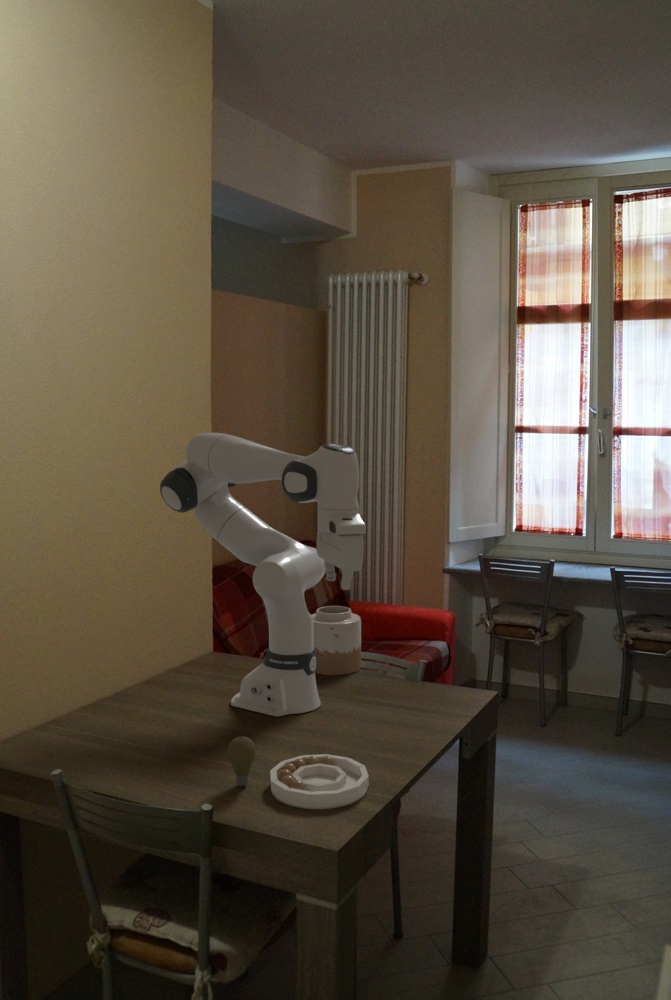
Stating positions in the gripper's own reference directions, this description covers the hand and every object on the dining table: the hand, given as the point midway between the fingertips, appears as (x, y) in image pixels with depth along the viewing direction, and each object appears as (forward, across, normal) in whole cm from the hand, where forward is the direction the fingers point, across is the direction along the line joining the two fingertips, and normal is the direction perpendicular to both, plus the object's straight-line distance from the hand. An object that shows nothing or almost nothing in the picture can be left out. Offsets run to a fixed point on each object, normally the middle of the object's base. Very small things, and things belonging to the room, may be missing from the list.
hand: (338, 584), depth 201 cm
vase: (+36, -57, +19) cm, 71 cm away
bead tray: (+36, +18, -10) cm, 42 cm away
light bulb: (+37, +12, -24) cm, 46 cm away
